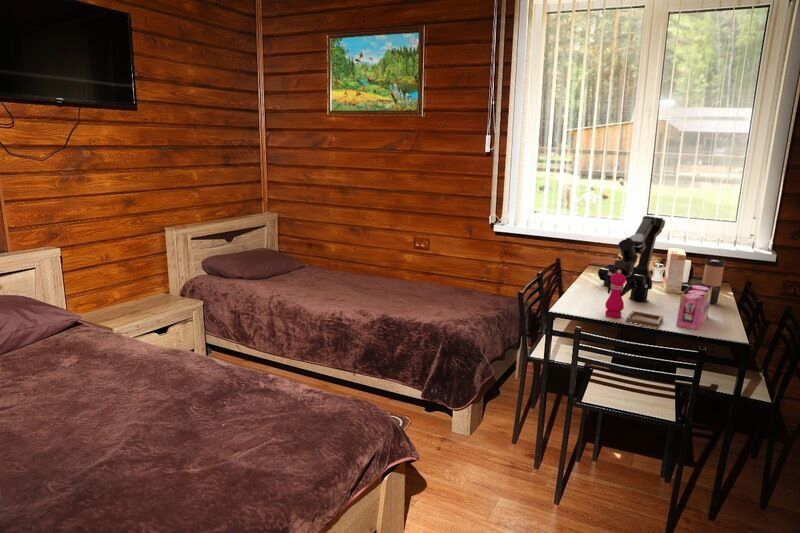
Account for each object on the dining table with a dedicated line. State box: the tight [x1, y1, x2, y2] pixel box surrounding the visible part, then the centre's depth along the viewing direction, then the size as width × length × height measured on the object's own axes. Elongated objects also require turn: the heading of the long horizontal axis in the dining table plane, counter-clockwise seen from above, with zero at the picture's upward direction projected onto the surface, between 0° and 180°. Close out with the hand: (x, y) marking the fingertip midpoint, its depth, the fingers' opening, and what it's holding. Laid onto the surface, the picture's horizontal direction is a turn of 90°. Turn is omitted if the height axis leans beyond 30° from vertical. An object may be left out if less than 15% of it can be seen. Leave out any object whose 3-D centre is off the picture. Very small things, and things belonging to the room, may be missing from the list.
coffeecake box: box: [662, 247, 687, 295], centre depth 276 cm, size 15×7×20 cm, turn 159°
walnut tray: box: [625, 310, 664, 329], centre depth 227 cm, size 12×12×2 cm
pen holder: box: [603, 264, 616, 288], centre depth 279 cm, size 9×9×10 cm
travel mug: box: [701, 257, 726, 305], centre depth 255 cm, size 8×8×20 cm
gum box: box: [675, 282, 713, 331], centre depth 227 cm, size 24×8×14 cm, turn 142°
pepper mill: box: [604, 269, 626, 319], centre depth 230 cm, size 7×7×20 cm
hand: (614, 294), depth 230 cm, fingers closed on pepper mill, 5 cm apart
